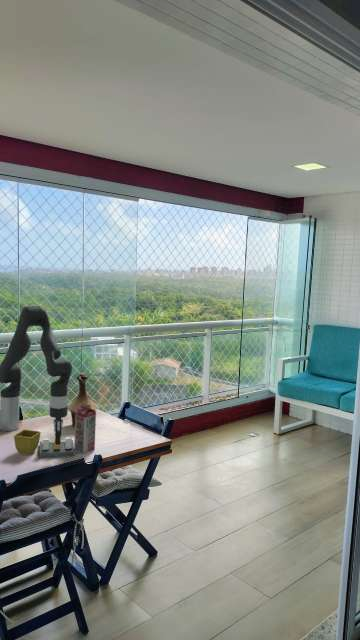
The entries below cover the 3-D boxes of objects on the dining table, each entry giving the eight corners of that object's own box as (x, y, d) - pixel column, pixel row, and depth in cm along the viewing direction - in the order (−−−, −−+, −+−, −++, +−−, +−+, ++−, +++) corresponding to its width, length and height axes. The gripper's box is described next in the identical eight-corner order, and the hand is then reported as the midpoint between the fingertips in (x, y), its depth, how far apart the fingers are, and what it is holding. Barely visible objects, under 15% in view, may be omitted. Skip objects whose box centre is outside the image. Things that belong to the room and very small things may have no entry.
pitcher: (62, 421, 268) (64, 371, 265) (93, 419, 275) (95, 370, 272) (70, 431, 252) (71, 378, 249) (102, 428, 259) (103, 376, 257)
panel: (39, 457, 216) (39, 452, 215) (40, 445, 231) (40, 440, 231) (74, 456, 219) (74, 451, 219) (72, 443, 235) (72, 439, 235)
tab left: (42, 449, 218) (42, 439, 218) (42, 448, 220) (42, 438, 220) (48, 449, 219) (48, 439, 219) (48, 447, 221) (48, 438, 221)
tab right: (65, 448, 221) (65, 439, 221) (65, 447, 223) (65, 437, 223) (71, 448, 222) (71, 438, 221) (71, 446, 224) (71, 437, 223)
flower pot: (31, 457, 216) (31, 437, 215) (13, 455, 217) (13, 435, 217) (40, 450, 224) (41, 431, 223) (23, 448, 226) (23, 429, 225)
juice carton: (85, 446, 232) (86, 401, 230) (94, 450, 228) (96, 403, 226) (74, 449, 227) (75, 403, 225) (83, 453, 223) (84, 406, 221)
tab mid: (54, 449, 220) (54, 439, 219) (54, 447, 222) (54, 438, 221) (60, 448, 220) (60, 439, 220) (59, 447, 222) (60, 437, 222)
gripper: (49, 401, 218) (48, 439, 219) (49, 409, 205) (49, 449, 206) (66, 401, 220) (66, 438, 221) (68, 409, 207) (67, 449, 208)
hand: (57, 444), depth 214 cm, fingers closed
